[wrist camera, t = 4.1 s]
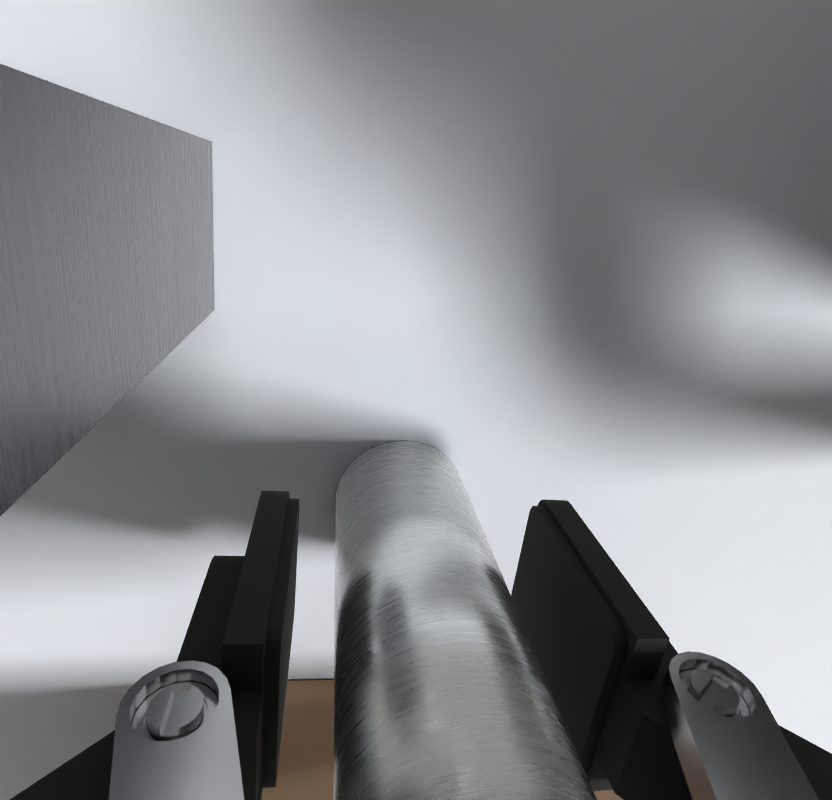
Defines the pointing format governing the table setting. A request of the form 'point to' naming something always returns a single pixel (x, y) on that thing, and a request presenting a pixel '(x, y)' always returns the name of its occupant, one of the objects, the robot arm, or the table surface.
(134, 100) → the table surface
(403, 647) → the round bit
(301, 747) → the socket block
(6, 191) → the square bit
